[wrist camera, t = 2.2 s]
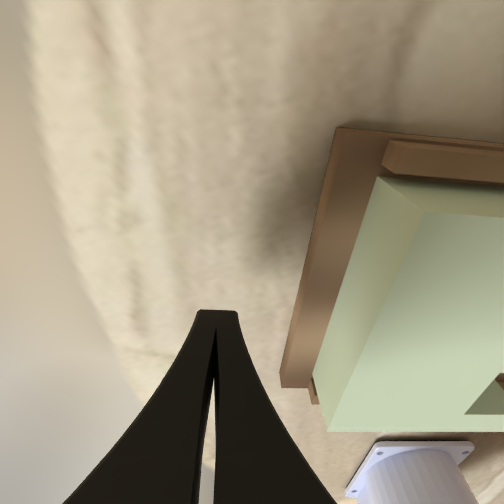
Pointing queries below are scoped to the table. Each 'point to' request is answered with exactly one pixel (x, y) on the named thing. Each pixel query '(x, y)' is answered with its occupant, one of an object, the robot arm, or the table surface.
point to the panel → (419, 314)
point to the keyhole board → (351, 216)
